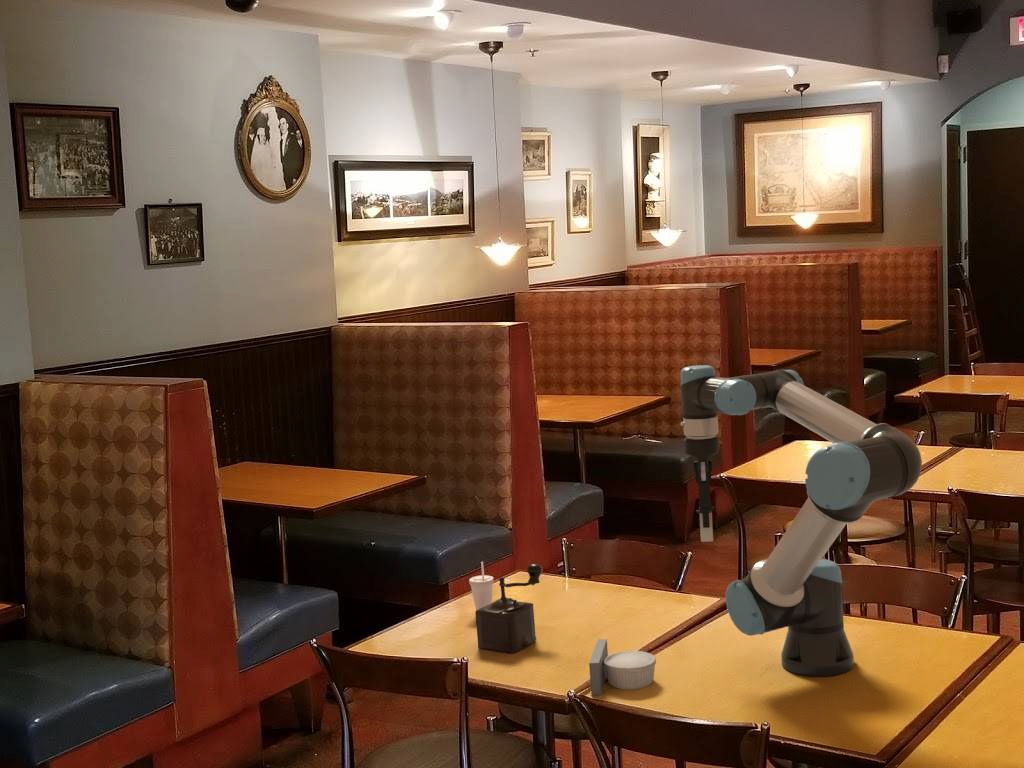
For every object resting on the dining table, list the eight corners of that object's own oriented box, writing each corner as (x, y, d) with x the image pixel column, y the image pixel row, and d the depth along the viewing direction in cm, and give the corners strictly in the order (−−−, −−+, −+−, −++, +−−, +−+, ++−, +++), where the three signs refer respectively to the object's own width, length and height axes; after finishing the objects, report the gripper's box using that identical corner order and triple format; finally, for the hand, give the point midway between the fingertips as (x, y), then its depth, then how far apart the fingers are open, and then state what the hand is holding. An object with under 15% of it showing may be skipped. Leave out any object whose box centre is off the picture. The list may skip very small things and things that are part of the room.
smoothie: (496, 617, 313) (491, 564, 311) (471, 619, 313) (466, 566, 311) (496, 610, 319) (492, 558, 318) (472, 611, 319) (468, 559, 318)
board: (608, 669, 269) (606, 639, 269) (600, 695, 255) (598, 663, 254) (599, 669, 270) (597, 639, 269) (591, 695, 255) (589, 663, 254)
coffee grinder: (515, 654, 284) (509, 579, 282) (476, 648, 290) (470, 575, 288) (551, 634, 297) (545, 562, 294) (513, 629, 303) (508, 558, 301)
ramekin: (607, 673, 268) (605, 650, 267) (658, 672, 266) (656, 649, 265) (602, 692, 257) (600, 668, 256) (655, 692, 255) (654, 667, 254)
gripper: (684, 431, 275) (690, 534, 278) (683, 442, 262) (690, 548, 265) (717, 430, 274) (723, 532, 277) (719, 440, 261) (725, 547, 264)
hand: (707, 540), depth 271 cm, fingers closed
